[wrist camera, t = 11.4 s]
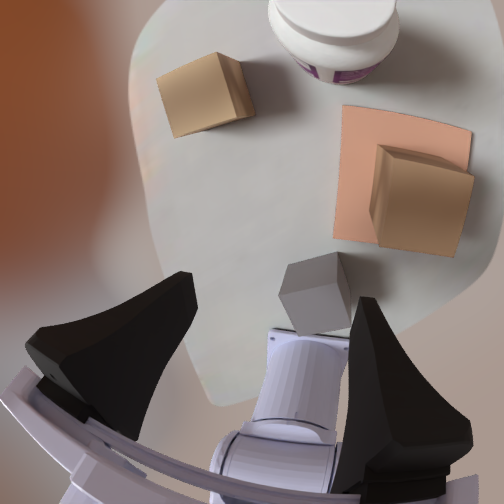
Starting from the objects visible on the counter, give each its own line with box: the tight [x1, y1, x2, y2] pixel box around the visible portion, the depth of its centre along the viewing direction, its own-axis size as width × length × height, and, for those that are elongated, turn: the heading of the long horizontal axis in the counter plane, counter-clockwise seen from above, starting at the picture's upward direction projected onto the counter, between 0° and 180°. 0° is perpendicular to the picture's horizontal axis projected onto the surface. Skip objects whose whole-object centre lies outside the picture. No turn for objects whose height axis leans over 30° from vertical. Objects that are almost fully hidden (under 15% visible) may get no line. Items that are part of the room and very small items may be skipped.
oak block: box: [156, 52, 256, 139], centre depth 15 cm, size 4×4×4 cm
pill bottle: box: [268, 0, 399, 85], centre depth 9 cm, size 5×5×10 cm
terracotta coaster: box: [333, 105, 472, 244], centre depth 16 cm, size 9×9×1 cm
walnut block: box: [369, 144, 475, 258], centre depth 13 cm, size 4×4×5 cm
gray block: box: [278, 252, 351, 337], centre depth 20 cm, size 4×4×4 cm
